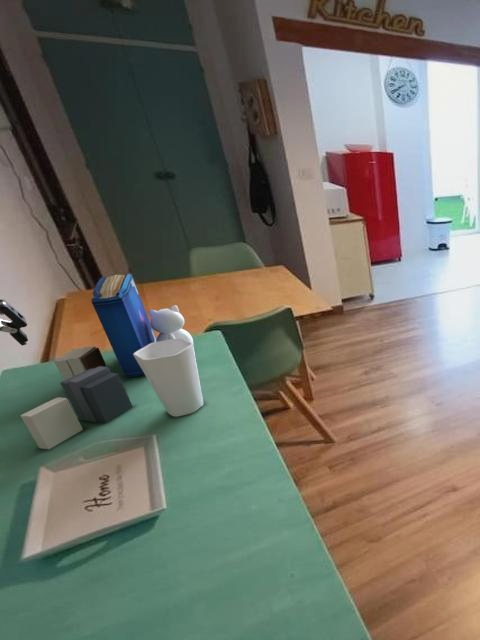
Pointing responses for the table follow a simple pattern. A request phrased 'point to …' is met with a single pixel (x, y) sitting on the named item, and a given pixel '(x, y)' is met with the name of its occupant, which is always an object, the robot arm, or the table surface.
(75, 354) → the grey brown block
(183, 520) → the table surface
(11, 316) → the robot arm
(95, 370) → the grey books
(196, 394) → the cup
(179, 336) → the cat figurine
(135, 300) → the book
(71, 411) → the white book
